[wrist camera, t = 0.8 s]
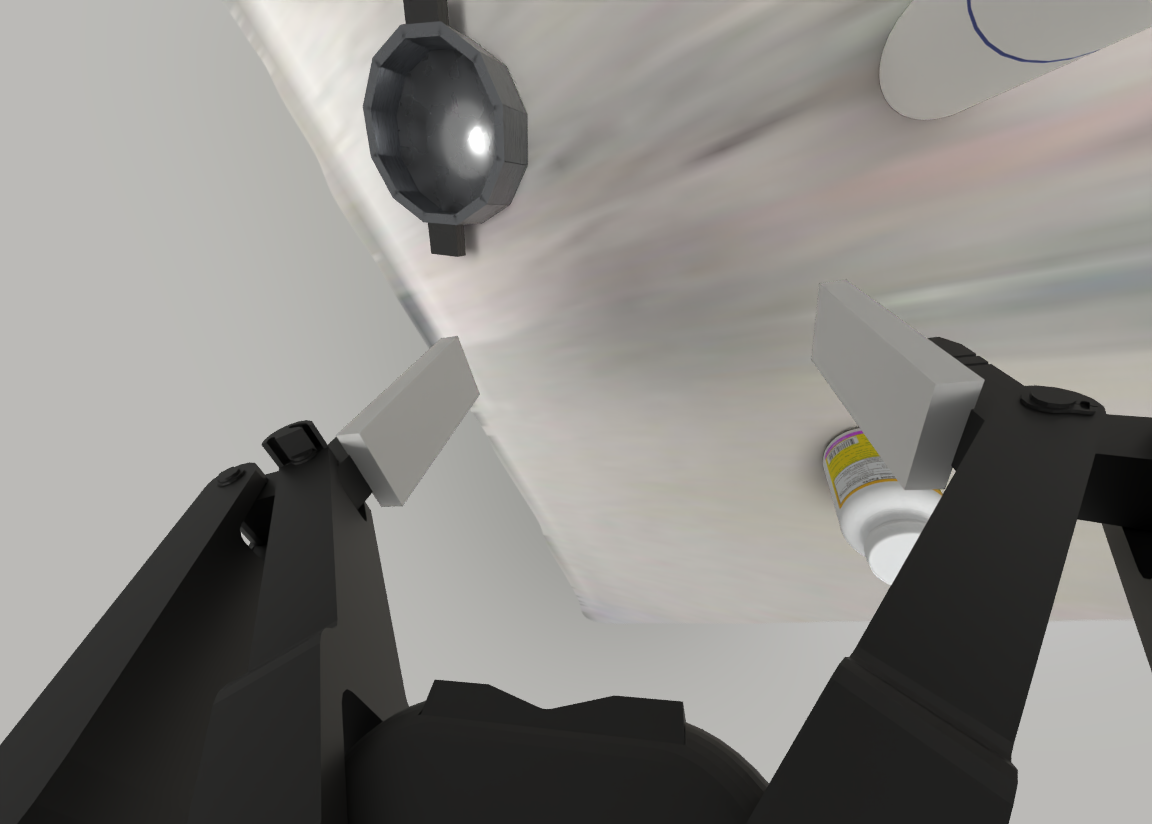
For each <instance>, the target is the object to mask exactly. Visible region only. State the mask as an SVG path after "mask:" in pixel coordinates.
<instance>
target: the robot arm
mask: <svg viewBox="0 0 1152 824" xmlns="http://www.w3.org/2000/svg"><path fill="white" fill-rule="evenodd" d="M811 360H812V362H813V363H814V364H815V366H816V367H817V369H818V370H819V371H820V373H821V374H822V376H823V377H824V378H825V380H826V381H827V383H828V384H829V385H830V387H831V388H832V390H833V391H834V392H835V394H836V395H837V397H838V398H839V399H840V401H841V402H842V404H843V405H844V406H845V408H846V409H847V411H848V412H849V413H850V415H851V416H852V418H853V419H854V420H855V422H856V423H857V425H858V426H859V427H860V429H861V430H862V432H863V433H864V434H865V436H866V437H867V439H868V440H869V441H870V443H871V444H872V446H873V447H874V448H875V450H876V451H877V453H878V454H879V455H880V457H881V458H882V460H883V461H884V462H885V464H886V465H887V467H888V468H889V469H890V471H891V472H892V474H893V475H894V476H895V478H896V479H897V481H898V482H899V483H900V485H901V486H902V488H903V489H904V490H931V489H945V487H946V485H947V482H948V479H949V476H950V474H951V471H952V468H954V469H955V470H956V472H955V474H954V476H953V477H952V479H951V481H950V483H949V484H948V486H947V488H946V490H945V492H944V493H943V495H942V497H941V499H940V500H939V502H938V504H937V506H936V507H935V509H934V511H933V513H932V514H931V516H930V518H929V520H928V521H927V523H926V525H925V527H924V528H923V530H922V532H921V534H920V536H919V537H918V539H917V541H916V543H915V544H914V546H913V548H912V550H911V551H910V553H909V555H908V557H907V558H906V560H905V562H904V564H903V565H902V567H901V569H900V571H899V572H898V574H897V576H896V578H895V580H894V581H893V583H892V585H891V587H890V588H889V590H888V592H887V594H886V595H885V597H884V599H883V601H882V602H881V604H880V606H879V608H878V609H877V611H876V613H875V615H874V616H873V618H872V620H871V622H870V624H869V625H868V627H867V629H866V631H865V632H864V634H863V636H862V638H861V639H860V641H859V643H858V645H857V647H856V648H855V650H854V651H853V653H852V654H851V655H850V657H845V658H844V659H843V660H842V661H841V663H840V664H839V665H838V667H837V669H836V670H835V672H834V673H833V675H832V677H831V678H830V680H829V682H828V684H827V685H826V687H825V689H824V690H823V692H822V694H821V695H820V697H819V699H818V701H817V702H816V704H815V706H814V707H813V709H812V711H811V713H810V715H809V716H808V718H807V720H806V721H805V723H804V725H803V726H802V729H801V730H800V732H799V733H798V735H797V737H796V739H795V740H794V742H793V744H792V745H791V747H790V749H789V751H788V752H787V754H786V756H785V758H784V759H783V761H782V763H781V764H780V766H779V768H778V770H777V771H776V773H775V775H774V777H773V778H772V780H771V782H770V783H768V782H767V781H766V780H765V779H764V778H763V777H762V776H761V774H760V773H759V772H758V771H757V770H756V769H755V768H754V767H753V766H752V765H751V764H750V763H749V762H747V761H746V760H745V759H744V758H743V757H742V756H741V755H740V754H739V753H738V752H736V751H735V750H734V749H732V748H731V747H730V746H728V745H727V744H725V743H724V742H723V741H721V740H720V739H718V738H717V737H715V736H713V735H711V734H710V733H708V732H706V731H704V730H703V729H700V728H698V727H696V726H693V725H691V724H688V723H686V720H685V713H684V706H683V702H680V701H668V700H657V699H646V698H635V697H624V696H611V697H606V698H601V699H596V700H592V701H587V702H582V703H577V704H573V705H568V706H563V707H558V708H554V709H542V708H539V707H537V706H534V705H532V704H530V703H528V702H526V701H523V700H521V699H519V698H517V697H515V696H513V695H510V694H508V693H506V692H504V691H502V690H499V689H497V688H495V687H493V686H491V685H489V684H477V683H467V682H466V683H465V682H455V681H444V680H434V683H433V685H432V688H431V690H430V693H429V695H428V697H427V700H426V701H424V702H421V703H418V704H416V705H413V706H410V707H409V706H408V703H407V700H406V696H405V690H404V686H403V680H402V675H401V669H400V664H399V658H398V653H397V648H396V642H395V637H394V632H393V627H392V622H391V616H390V610H389V605H388V600H387V594H386V589H385V584H384V578H383V573H382V568H381V562H380V557H379V552H378V546H377V541H376V536H375V530H374V525H373V519H372V514H371V510H370V509H369V507H368V506H367V504H366V503H365V500H366V499H367V498H368V497H369V496H370V495H371V493H373V495H374V496H375V498H376V499H377V501H378V502H379V504H380V506H381V507H390V506H403V505H404V503H405V502H406V501H407V499H408V497H409V496H410V495H411V493H412V492H413V490H414V489H415V487H416V486H417V485H418V483H419V482H420V480H421V479H422V477H423V476H424V474H425V473H426V471H427V470H428V469H429V467H430V466H431V464H432V463H433V461H434V460H435V458H436V457H437V456H438V454H439V453H440V451H441V450H442V448H443V447H444V446H445V444H446V443H447V441H448V440H449V438H450V437H451V435H452V434H453V432H454V431H455V430H456V428H457V427H458V425H459V424H460V422H461V421H462V419H463V418H464V417H465V415H466V414H467V412H468V411H469V409H470V408H471V407H472V405H473V404H474V402H475V401H476V399H477V398H478V396H479V395H480V393H479V390H478V388H477V385H476V383H475V380H474V377H473V375H472V372H471V370H470V367H469V364H468V362H467V359H466V356H465V354H464V351H463V349H462V346H461V343H460V341H459V338H458V336H455V337H448V338H441V339H440V340H439V341H438V342H437V343H436V344H434V345H433V346H432V347H431V348H430V349H429V350H428V351H427V352H426V353H425V354H424V355H423V356H421V358H419V359H418V360H417V361H416V362H415V363H414V364H413V365H412V366H411V367H409V368H408V369H407V370H406V371H405V372H404V373H403V374H402V375H401V376H400V377H399V378H398V379H396V380H395V381H394V382H393V383H392V384H391V385H390V386H389V387H388V388H387V389H386V390H384V391H383V392H382V393H381V394H380V395H379V396H378V397H377V398H376V399H375V400H374V401H373V402H372V403H370V404H369V405H368V406H367V407H366V408H365V409H364V410H363V411H362V412H361V413H360V414H358V415H357V416H356V417H355V418H354V419H353V420H352V421H351V422H350V423H349V424H348V425H347V426H345V427H344V428H343V429H342V430H341V431H340V432H339V433H338V434H337V435H336V438H335V439H333V440H332V441H331V442H330V443H329V444H328V445H327V444H326V442H325V440H324V439H323V437H322V436H321V434H320V433H319V431H318V430H317V428H316V427H315V425H314V424H313V422H312V421H307V420H305V421H299V422H296V423H293V424H290V425H288V426H285V427H283V428H281V429H279V430H277V431H276V432H274V433H272V434H271V435H270V436H269V437H267V438H266V439H265V440H264V441H263V443H262V446H263V447H264V449H265V450H266V451H267V453H268V454H269V455H270V456H271V458H272V459H273V460H274V462H275V463H276V464H277V466H278V467H279V471H277V472H273V473H270V474H266V475H265V474H264V473H263V472H262V471H261V469H260V468H259V467H258V466H257V465H256V464H255V463H246V464H241V465H239V466H236V467H231V468H229V469H227V470H225V471H223V472H221V473H220V474H219V476H217V477H216V478H215V479H213V480H212V481H211V482H210V483H209V484H208V485H207V486H206V487H205V488H204V490H203V491H202V492H201V493H200V495H199V496H198V497H197V498H196V500H195V501H194V502H193V503H192V505H191V506H190V507H189V508H188V510H187V511H186V512H185V513H184V515H183V516H182V517H181V518H180V520H179V521H178V522H177V523H176V525H175V526H174V527H173V528H172V530H171V531H170V532H169V533H168V535H167V536H166V537H165V538H164V540H163V541H162V542H161V544H160V545H159V546H158V547H157V549H156V550H155V551H154V552H153V554H152V555H151V556H150V557H149V559H148V560H147V561H146V563H145V564H144V565H143V566H142V567H141V569H140V570H139V571H138V572H137V574H136V575H135V576H134V578H133V579H132V580H131V581H130V582H129V584H128V585H127V586H126V588H125V589H124V590H123V591H122V593H121V594H120V595H119V596H118V598H117V599H116V600H115V602H114V603H113V604H112V605H111V606H110V608H109V609H108V610H107V611H106V613H105V614H104V615H103V616H102V618H101V619H100V620H99V622H98V623H97V624H96V625H95V627H94V628H93V629H92V630H91V632H90V633H89V634H88V635H87V637H86V638H85V639H84V640H83V642H82V643H81V644H80V645H79V647H78V648H77V649H76V650H75V652H74V653H73V654H72V655H71V657H70V658H69V659H68V661H67V662H66V663H65V664H64V666H63V667H62V668H61V669H60V671H59V672H58V673H57V674H56V676H55V677H54V678H53V679H52V681H51V682H50V683H49V684H48V686H47V687H46V688H45V689H44V691H43V692H42V693H41V694H40V696H39V697H38V698H37V700H36V701H35V702H34V703H33V705H32V706H31V707H30V708H29V710H28V711H27V712H26V714H25V715H24V716H23V717H22V718H21V720H20V721H19V722H18V723H17V725H16V726H15V727H14V728H13V730H12V731H11V732H10V733H9V735H8V736H7V737H6V738H5V740H4V741H3V742H2V744H1V745H0V824H1009V820H1010V816H1011V812H1012V808H1013V804H1014V799H1015V794H1016V789H1017V784H1018V779H1017V778H1018V775H1017V774H1018V770H1017V769H1016V767H1015V766H1014V765H1013V764H1012V763H1011V753H1012V750H1013V745H1014V741H1015V737H1016V734H1017V731H1018V727H1019V723H1020V720H1021V716H1022V713H1023V709H1024V706H1025V702H1026V699H1027V695H1028V691H1029V688H1030V684H1031V681H1032V677H1033V674H1034V670H1035V667H1036V663H1037V660H1038V655H1039V652H1040V649H1041V645H1042V642H1043V638H1044V635H1045V631H1046V627H1047V624H1048V620H1049V617H1050V613H1051V610H1052V606H1053V603H1054V599H1055V596H1056V592H1057V588H1058V585H1059V581H1060V578H1061V574H1062V571H1063V567H1064V564H1065V560H1066V557H1067V553H1068V549H1069V546H1070V542H1071V539H1072V535H1073V532H1074V528H1075V525H1076V521H1077V519H1079V520H1085V521H1091V522H1097V523H1102V526H1103V529H1104V532H1105V535H1106V538H1107V540H1108V543H1109V546H1110V549H1111V552H1112V555H1113V558H1114V561H1115V564H1116V567H1117V570H1118V573H1119V576H1120V579H1121V582H1122V585H1123V588H1124V591H1125V594H1126V597H1127V600H1128V603H1129V606H1130V609H1131V612H1132V615H1133V618H1134V621H1135V623H1136V626H1137V629H1138V632H1139V635H1140V638H1141V641H1142V644H1143V647H1144V650H1145V653H1146V656H1147V659H1148V662H1149V665H1150V668H1151V671H1152V418H1149V417H1136V416H1122V415H1109V414H1106V411H1105V408H1104V406H1102V405H1101V404H1100V403H1098V402H1097V401H1095V400H1094V399H1092V398H1090V397H1087V396H1085V395H1082V394H1080V393H1077V392H1073V391H1069V390H1065V389H1060V388H1055V387H1046V386H1024V385H1022V384H1021V383H1019V382H1018V381H1016V380H1015V379H1013V378H1012V377H1010V376H1009V375H1007V374H1005V373H1004V372H1002V371H1001V370H999V369H998V368H996V367H995V366H993V365H992V364H988V362H987V361H986V360H984V359H983V358H981V357H980V356H976V354H975V353H974V352H972V351H971V350H969V349H968V348H966V347H965V346H963V345H962V344H959V343H956V342H953V341H950V340H947V339H944V338H941V337H933V338H926V337H925V336H923V335H922V334H921V333H919V332H918V331H916V330H915V329H914V328H912V327H911V326H910V325H908V324H907V323H905V322H904V321H903V320H901V319H900V318H899V317H897V316H896V315H894V314H893V313H892V312H890V311H889V310H888V309H886V308H885V307H883V306H882V305H881V304H879V303H878V302H876V301H875V300H874V299H872V298H871V297H870V296H868V295H867V294H865V293H864V292H863V291H861V290H860V289H859V288H857V287H856V286H854V285H853V284H852V283H850V282H849V281H848V280H839V281H832V282H825V283H819V291H818V301H817V310H816V319H815V329H814V338H813V347H812V356H811ZM240 531H241V532H242V534H243V535H245V537H246V538H247V539H248V540H249V541H250V544H249V546H248V545H247V544H246V543H245V542H244V541H243V539H242V537H241V532H240Z"/></svg>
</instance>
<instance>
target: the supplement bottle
mask: <svg viewBox="0 0 1152 824" xmlns="http://www.w3.org/2000/svg"><path fill="white" fill-rule="evenodd" d="M823 467H824V471H825V475H826V478H827V482H828V485H829V488H830V492H831V495H832V499H833V502H834V506H835V510H836V513H837V517H838V520H839V524H840V528H841V531H842V534H843V536H844V538H845V539H846V541H847V542H848V543H849V545H850V546H851V547H852V548H853V549H854V550H856V551H857V552H858V553H859V554H861V555H862V556H864V557H866V559H867V562H868V564H869V566H870V569H871V570H872V572H873V573H874V574H875V575H876V576H877V577H878V578H879V579H880V580H882V581H883V582H885V583H887V584H889V585H892V583H893V581H894V580H895V578H896V576H897V574H898V572H899V571H900V569H901V567H902V565H903V564H904V562H905V560H906V558H907V557H908V555H909V553H910V551H911V550H912V548H913V546H914V544H915V543H916V541H917V539H918V537H919V536H920V534H921V532H922V530H923V528H924V527H925V525H926V523H927V521H928V520H929V518H930V516H931V514H932V513H933V511H934V509H935V507H936V506H937V504H938V502H939V500H940V499H941V497H942V495H943V493H942V492H941V490H940V489H931V490H904V489H903V488H902V486H901V485H900V483H899V482H898V481H897V479H896V478H895V476H894V475H893V474H892V472H891V471H890V469H889V468H888V467H887V465H886V464H885V462H884V461H883V460H882V458H881V457H880V455H879V454H878V453H877V451H876V450H875V448H874V447H873V446H872V444H871V443H870V441H869V440H868V439H867V437H866V436H865V434H864V433H863V432H862V430H861V429H860V428H857V429H853V430H850V431H847V432H845V433H843V434H841V435H839V436H838V437H836V438H835V439H834V440H833V441H832V442H831V443H830V444H829V445H828V447H827V448H826V450H825V453H824V456H823Z"/></svg>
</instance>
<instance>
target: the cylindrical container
mask: <svg viewBox="0 0 1152 824" xmlns="http://www.w3.org/2000/svg"><path fill="white" fill-rule="evenodd" d="M1150 27H1152V0H913V1H912V2H911V3H910V5H909V6H908V7H907V8H906V10H905V11H904V12H903V14H902V15H901V16H900V18H899V19H898V20H897V22H896V24H895V25H894V27H893V29H892V31H891V32H890V34H889V36H888V39H887V41H886V44H885V46H884V49H883V52H882V57H881V61H880V70H879V79H880V86H881V90H882V93H883V95H884V97H885V100H886V101H887V102H888V104H889V105H890V106H891V107H892V108H893V109H894V110H895V111H897V112H898V113H900V114H901V115H903V116H906V117H909V118H912V119H919V120H932V119H940V118H944V117H947V116H951V115H954V114H956V113H958V112H961V111H963V110H965V109H967V108H970V107H972V106H974V105H976V104H979V103H981V102H983V101H985V100H988V99H990V98H992V97H994V96H997V95H999V94H1001V93H1003V92H1006V91H1008V90H1010V89H1012V88H1015V87H1017V86H1019V85H1021V84H1024V83H1026V82H1028V81H1030V80H1033V79H1035V78H1037V77H1039V76H1042V75H1044V74H1046V73H1048V72H1051V71H1053V70H1055V69H1057V68H1060V67H1062V66H1064V65H1066V64H1069V63H1071V62H1073V61H1075V60H1078V59H1080V58H1082V57H1084V56H1087V55H1089V54H1091V53H1093V52H1096V51H1098V50H1100V49H1102V48H1105V47H1107V46H1109V45H1111V44H1114V43H1116V42H1118V41H1121V40H1123V39H1125V38H1127V37H1130V36H1132V35H1134V34H1136V33H1139V32H1141V31H1143V30H1145V29H1148V28H1150Z"/></svg>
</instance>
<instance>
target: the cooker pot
mask: <svg viewBox="0 0 1152 824" xmlns="http://www.w3.org/2000/svg"><path fill="white" fill-rule="evenodd" d="M403 3H404V11H405V20H406V24H403V25H400V26H399V27H398V29H397V30H396V31H395V32H394V33H393V34H392V36H391V37H390V38H389V39H388V40H387V41H386V43H385V44H384V45H383V46H382V47H381V48H380V50H379V51H378V52H377V53H376V54H375V56H374V57H373V59H372V64H371V69H370V74H369V79H368V84H367V88H366V93H365V98H364V103H363V110H364V117H365V123H366V129H367V135H368V141H369V148H370V154H371V158H372V160H373V162H374V163H375V165H376V167H377V169H378V171H379V173H380V175H381V176H382V178H383V180H384V182H385V184H386V186H387V188H388V189H389V191H390V193H391V195H392V197H393V198H394V199H395V200H396V201H398V202H399V203H400V204H401V205H403V206H404V207H405V208H406V209H408V210H409V211H410V212H412V213H413V214H414V215H415V216H417V217H418V218H419V219H420V220H422V221H423V222H428V227H429V236H430V245H431V254H439V255H448V256H456V257H459V256H465V255H466V253H465V239H464V226H463V225H466V224H480V223H483V222H485V221H486V220H488V219H489V218H491V217H492V216H494V215H495V214H497V213H498V212H500V211H501V210H503V209H504V208H506V207H507V206H508V205H510V204H511V201H512V199H513V197H514V195H515V192H516V190H517V188H518V186H519V183H520V181H521V179H522V177H523V174H524V172H525V170H526V168H527V113H526V110H525V108H524V106H523V103H522V101H521V99H520V96H519V94H518V92H517V89H516V87H515V85H514V82H513V80H512V78H511V75H510V73H509V71H508V68H507V67H506V66H505V65H504V64H503V63H501V62H500V61H499V60H497V59H496V58H495V57H494V56H492V55H491V54H490V53H489V52H487V51H486V50H485V49H483V48H482V47H481V46H480V45H478V44H477V43H476V42H474V41H473V40H472V39H470V38H468V37H467V36H465V35H463V34H462V33H460V32H458V31H456V30H455V29H453V28H451V27H450V26H449V23H448V9H447V0H403Z"/></svg>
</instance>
